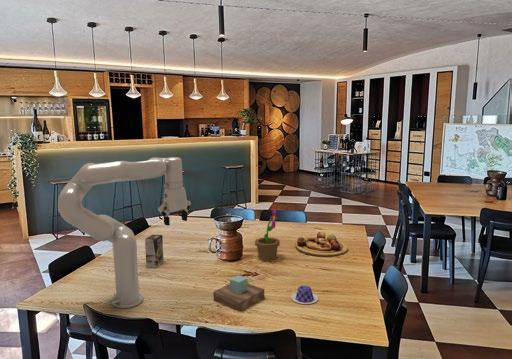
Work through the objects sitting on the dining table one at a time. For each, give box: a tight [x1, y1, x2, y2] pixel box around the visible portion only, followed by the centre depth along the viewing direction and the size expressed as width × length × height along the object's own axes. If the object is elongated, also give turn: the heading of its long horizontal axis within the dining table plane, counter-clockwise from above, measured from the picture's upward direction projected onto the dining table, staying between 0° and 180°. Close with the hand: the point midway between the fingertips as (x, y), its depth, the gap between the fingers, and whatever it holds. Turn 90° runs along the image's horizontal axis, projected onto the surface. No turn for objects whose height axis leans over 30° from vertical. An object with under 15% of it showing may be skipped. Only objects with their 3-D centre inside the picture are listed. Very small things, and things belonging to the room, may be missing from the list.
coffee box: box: [144, 234, 165, 269], centre depth 208 cm, size 9×6×16 cm
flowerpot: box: [254, 208, 280, 262], centre depth 215 cm, size 14×14×30 cm
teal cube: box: [229, 275, 248, 294], centre depth 167 cm, size 6×6×6 cm
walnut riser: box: [213, 282, 265, 312], centre depth 168 cm, size 16×16×4 cm
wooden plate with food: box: [294, 231, 349, 258], centre depth 233 cm, size 32×32×8 cm
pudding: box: [290, 285, 319, 305], centre depth 167 cm, size 12×12×5 cm
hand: (175, 222), depth 170 cm, fingers open, 9 cm apart
